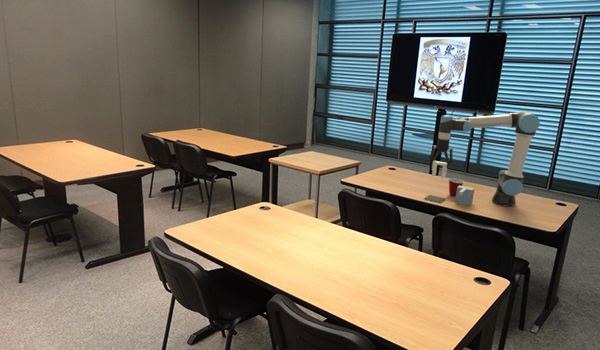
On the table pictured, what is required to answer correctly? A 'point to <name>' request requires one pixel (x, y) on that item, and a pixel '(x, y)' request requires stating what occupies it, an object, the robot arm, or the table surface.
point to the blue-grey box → (464, 195)
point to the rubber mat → (435, 198)
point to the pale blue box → (436, 168)
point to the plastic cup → (454, 186)
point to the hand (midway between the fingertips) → (439, 171)
